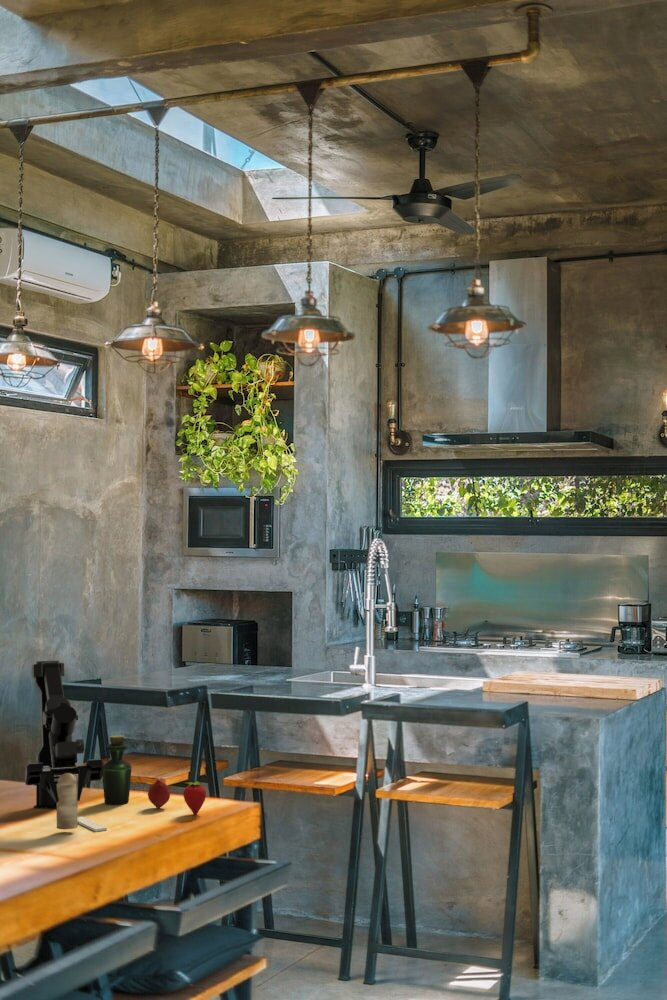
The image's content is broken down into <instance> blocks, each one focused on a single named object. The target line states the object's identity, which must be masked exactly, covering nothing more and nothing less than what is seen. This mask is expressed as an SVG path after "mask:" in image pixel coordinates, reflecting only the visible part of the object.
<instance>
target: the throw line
mask: <svg viewBox="0 0 667 1000" xmlns="http://www.w3.org/2000/svg"><path fill="white" fill-rule="evenodd" d="M78 824H79V825H80V826H83V827H84V828H87V829H89V830H91V831H93V832H96V833H97V832H104V831H108V827H106V826H104V825H102V824H100V823H98V822H95V821H93V820H91V819H90V818H87V817H85V816H78Z"/></svg>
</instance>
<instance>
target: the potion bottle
mask: <svg viewBox="0 0 667 1000" xmlns="http://www.w3.org/2000/svg"><path fill="white" fill-rule="evenodd" d="M124 737H125V735H122V734H121V735H115V734H114V735H110V736H109V739H110V743H109V744H108V743H107V745H106V749H105V750H106V751H108V752H109V754H110V758H111V759H110V760H108V761H106V762H104V771H103V776H102V785H103V786H102V787H103V796H104V797H103V799H104V803H105V805H110V806H121V805H125V804H126V805H127V804H128V803H129V800H130V789H131V781H132V778H131V777H132V765H131V763H129V762H128V761H127V760H125V759H123V756H124V751H126V750H128V746H127V744H126V743H124Z"/></svg>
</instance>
